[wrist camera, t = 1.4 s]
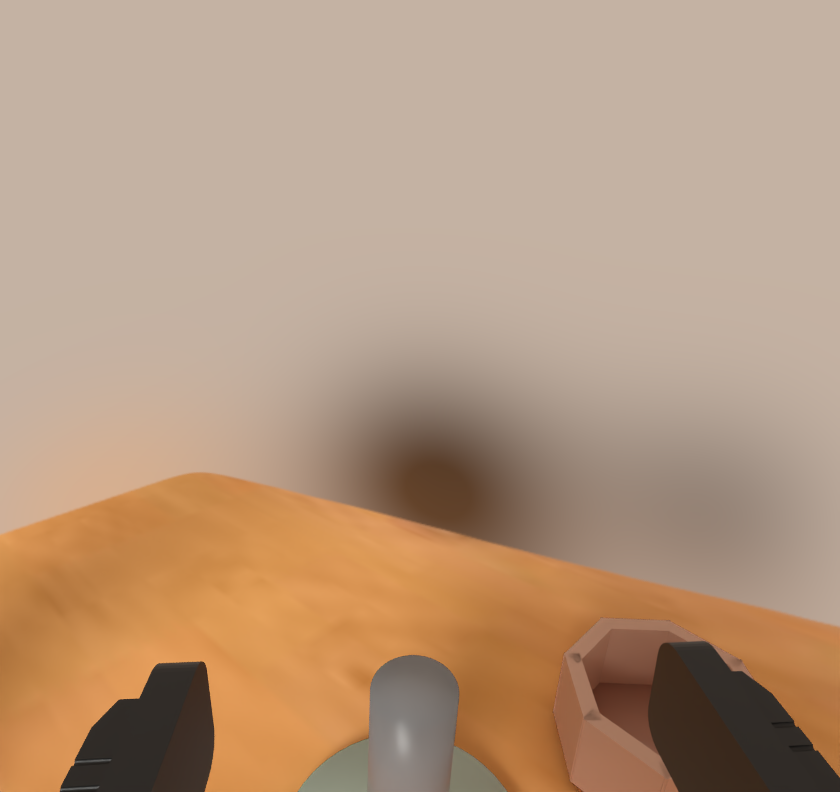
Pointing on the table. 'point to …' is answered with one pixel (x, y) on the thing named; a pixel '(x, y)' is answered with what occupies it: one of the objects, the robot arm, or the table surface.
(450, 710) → the peg on round base
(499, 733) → the table surface
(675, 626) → the bowl
